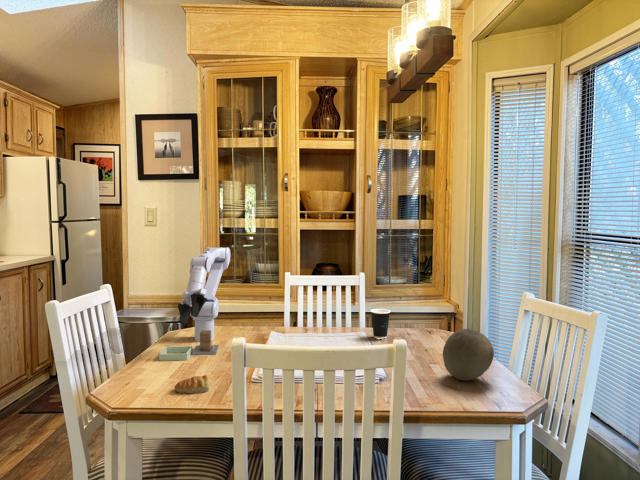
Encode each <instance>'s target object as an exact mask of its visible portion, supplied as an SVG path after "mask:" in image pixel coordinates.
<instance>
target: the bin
mask: <svg viewBox="0 0 640 480" xmlns="http://www.w3.org/2000/svg"><path fill="white" fill-rule="evenodd" d="M192 351H193V346H192V345H188V346H182V345H181V346H165V347H164V349H163V350H162V351H160V353H159V355H158V356H159V361H160V362H162V361H163V362H165V361H168V362H169V361H188V360H189V359H190V357H191V355H192Z"/></svg>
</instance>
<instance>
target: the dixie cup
mask: <svg viewBox="0 0 640 480" xmlns="http://www.w3.org/2000/svg"><path fill="white" fill-rule="evenodd" d="M370 313H371V322H372V333H373V334H372V335H373V338H374V337H375V338H386V339H387V336H388V329H389V323H390V322H389V321H390V313H391V310H389V309H386V308H373V309H370ZM375 338H374V339H375Z"/></svg>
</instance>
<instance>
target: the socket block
mask: <svg viewBox="0 0 640 480" xmlns="http://www.w3.org/2000/svg"><path fill="white" fill-rule="evenodd" d="M219 348H220V344H211V350H200V344H198V345H195V347H194V349H192V354H191V355H192V356H199V355H200V356H206V355H207V356H208V355H209V356H211V355H212V356H213V355H214V356H215V355H217V352H218V351H219Z"/></svg>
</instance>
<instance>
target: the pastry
mask: <svg viewBox="0 0 640 480" xmlns="http://www.w3.org/2000/svg"><path fill="white" fill-rule="evenodd" d="M209 390H210V384H209V376H208V375H207V374H204V375H196V376H195V375H194V376H192V377H188V378H187V379H186V378H185V379H183V380H180V381H178V382H177V383H176V384H175V385H174V391H175V392H177V393H178V394H200V393H207V392H209Z"/></svg>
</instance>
